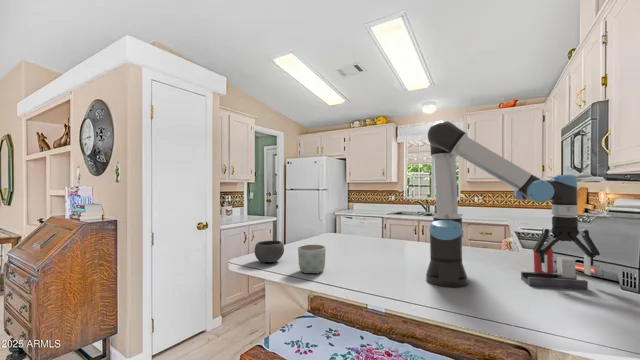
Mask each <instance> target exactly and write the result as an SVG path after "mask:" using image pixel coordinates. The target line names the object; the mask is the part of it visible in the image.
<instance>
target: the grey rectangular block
mask: <svg viewBox="0 0 640 360" xmlns="http://www.w3.org/2000/svg"><path fill="white" fill-rule="evenodd" d="M556 266H557V267H556V269H557V271H556V272H557V275H558V279H575V280H576V278H575V275H576V259H574V258H572V257H569V256H556Z"/></svg>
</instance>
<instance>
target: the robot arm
mask: <svg viewBox="0 0 640 360" xmlns="http://www.w3.org/2000/svg"><path fill="white" fill-rule="evenodd" d="M427 139H428V142H429V144H430V145H429V146H430V148H429V149H430V156H431V158H433V159H434V176H435V177H434V178H435V182H434V183H435V201H436V202H435V205H436V214H434V215H433V217H432V218H433V219H432V222H431V223H430V224H429V230H428V231H429V242H430V243H429V246H430V247H429V248H430V249H429V250H430V251H429V252H430V255H429V257H430V260H429V264H428V267H427V270H426V273H425V274H426V275H425V277H426V278H425V279H426V282H428V283H430V284H433V285H436V286H440V287H446V288H460V287H465V286H467V285H468V284H469V282H468V281H469V278H468V275H467V272H466V270H465V266H464V263H463V238H464V230H463V217H462V216H461V215H460V213H459V209H458V208H459V207H458V186H457V185H458V183H457V182H458V181H457V162H456V161H457V157H458V156H459V157H460V158H462V159H464V160H465V161H467V162H468V163H470V164H473V166H475V167H477V168H479V169H480V170H482V171H483V172H485V173H487V174H489V175H490V176H492V177H493V178H495V179H497V180H499V181H501V182H502V183H503V184H505V185H507V186H508V187H510V188H511V189H513V194H514V198H515V199H516V200H519V201H532V202H535V203H546V202H548V201H551V215H553V216H551V220H552V221H551V226H552V227H551V228H547V227H546V228H545V227H542V231H541V234H540V236H539V238H538V239H537V242H535V244H536V245H535V244H534V247H533V249H532V251H533V253H534V252H536V253H539V262H541V263H542V271H544V272H546V273H547V255H546V254H545V253H546V252H547V251H548V250H549V249H550V248H553V246H554V245H555V244H556V243H558V242H573V243H574V244H575V245H576V246H577V247H578V248H579V249H580V250H581V251H582V252H583V253H584V254H585V255H583V273H584V274H586V275H587V276H591V275H592V266H594V258H596V256H600V255H601V252H600V251H599V249H598V248H597V247H596V245H595V243H594V241H593V240H592V237H590V233H589V230H588V229H584V228H582V229H578V228H579V218H578V217H577V216H578V213H579V212H578V181H577V177H576V175H573V174H567V175H566V174H564V175H562V174H559V175H556V174H555V175H552V176H551V177H550V179H549V180H543V179H541V178H539V177H537V176H535V175H534V174H532V173H531V172H529V171H527V170H525V169H524V168H522V167H520V166H519V165H517V164H515V163H513V162H511V161H510V160H508V159H506V158H505V157H503V156H501V155H499V154H498V153H496V152H494V151H493V150H491V149H490V148H487V147H486V146H485V145H482V144H481V143H479V142H478V141H475V140H473V139H472V138H470V137H469V136H468V133H467V132H466V131H464V130H462V129H461V128H459V127H458V126H457V125H455V124H453V123H452V122H450V121H447V120H439V121H436V122H435V123H433V124H432V125H431V126H430V127H429V129H428V131H427ZM550 234H552V236H551V237H550V239H549V240H547V238H548V237H549V235H550ZM578 235H581V237H582V238H583V240H584V242H585V244H586V245H585V244H584V243H583V242H582V241H581V240H580V238H578ZM545 242H546V243H545ZM543 244H545V245H544V246H543ZM542 246H543V247H542Z"/></svg>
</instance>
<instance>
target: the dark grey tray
mask: <svg viewBox="0 0 640 360" xmlns="http://www.w3.org/2000/svg"><path fill="white" fill-rule="evenodd" d="M575 278H576V280H575V279H558V275H557V273H556V272H553V273H540V272H535V271H520V279H521V280H522V281H523V282H524V283H525V284H527V285H528V286H529V287H537V288H538V287H540V288H551V289H552V288H554V289H568V288H572V289H571V290H584V291H587V290H589V287H588V285H589V284H588V283H589V282H588V281H587V280H586V279H577V275H576V274H575Z"/></svg>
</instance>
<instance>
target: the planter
mask: <svg viewBox="0 0 640 360" xmlns="http://www.w3.org/2000/svg"><path fill="white" fill-rule="evenodd" d="M326 248H327V247H326V246H325V245H322V244H304V245H299V246H298V247H297V252H298V253H297V255H298V256H297V257H298V268H299V271H300V272H302V273H303V272H304V274H306V273H317V274H320V273H322V272H323V271H324V270H325V266H326V251H327V249H326ZM319 272H320V273H319Z"/></svg>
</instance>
